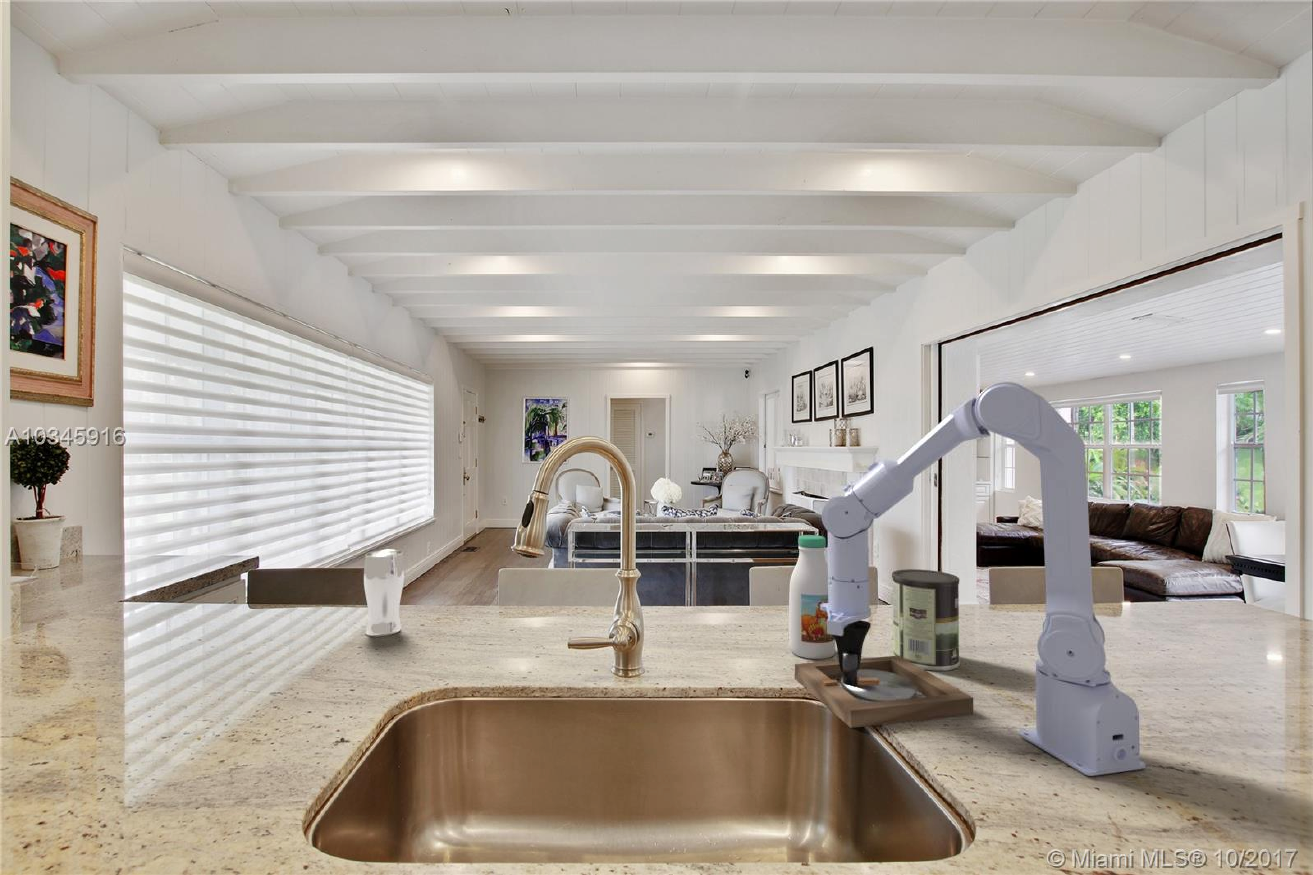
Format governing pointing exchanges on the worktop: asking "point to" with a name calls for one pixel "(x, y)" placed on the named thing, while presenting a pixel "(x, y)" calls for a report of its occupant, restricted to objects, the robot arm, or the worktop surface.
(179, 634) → the worktop surface
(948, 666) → the coffee can
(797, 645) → the milk bottle
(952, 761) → the worktop surface
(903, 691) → the dial
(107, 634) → the worktop surface
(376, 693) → the worktop surface
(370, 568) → the beer glass
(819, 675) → the frame
